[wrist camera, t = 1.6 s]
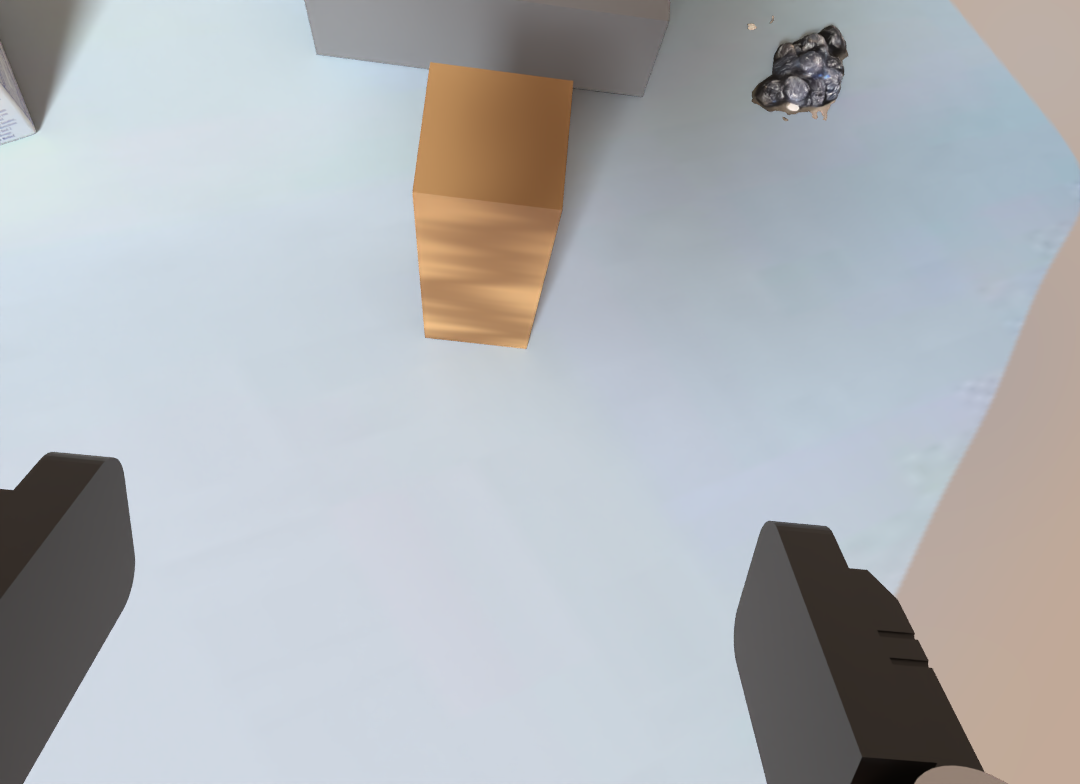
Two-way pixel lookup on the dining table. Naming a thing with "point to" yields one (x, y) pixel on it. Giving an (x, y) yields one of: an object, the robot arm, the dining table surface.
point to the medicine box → (12, 106)
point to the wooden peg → (488, 199)
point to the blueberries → (804, 74)
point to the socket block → (501, 36)
